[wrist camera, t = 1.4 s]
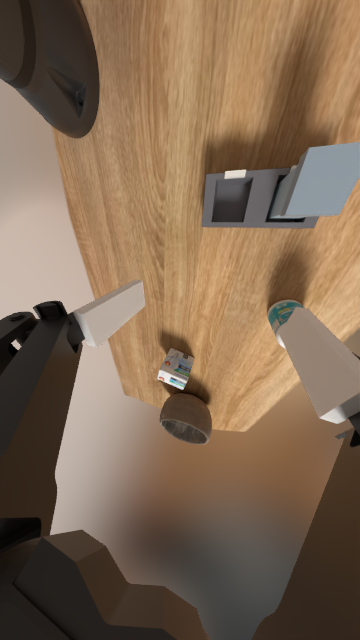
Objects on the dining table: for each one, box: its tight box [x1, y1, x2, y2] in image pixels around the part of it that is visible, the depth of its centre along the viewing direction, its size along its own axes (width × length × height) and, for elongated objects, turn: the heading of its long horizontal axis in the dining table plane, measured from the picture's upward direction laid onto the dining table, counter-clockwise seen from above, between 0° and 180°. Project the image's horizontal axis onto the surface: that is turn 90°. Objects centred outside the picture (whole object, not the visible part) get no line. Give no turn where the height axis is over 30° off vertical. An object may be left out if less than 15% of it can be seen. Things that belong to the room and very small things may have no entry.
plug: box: [266, 142, 360, 220], centre depth 19 cm, size 5×5×13 cm
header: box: [202, 165, 319, 229], centre depth 23 cm, size 7×18×6 cm, turn 89°
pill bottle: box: [267, 300, 304, 349], centre depth 29 cm, size 8×7×14 cm
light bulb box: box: [157, 348, 194, 390], centre depth 51 cm, size 11×7×11 cm, turn 76°
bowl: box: [160, 393, 212, 445], centre depth 66 cm, size 24×24×15 cm
